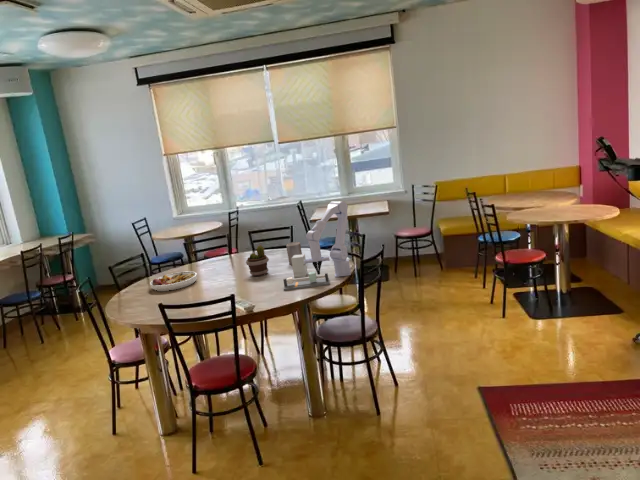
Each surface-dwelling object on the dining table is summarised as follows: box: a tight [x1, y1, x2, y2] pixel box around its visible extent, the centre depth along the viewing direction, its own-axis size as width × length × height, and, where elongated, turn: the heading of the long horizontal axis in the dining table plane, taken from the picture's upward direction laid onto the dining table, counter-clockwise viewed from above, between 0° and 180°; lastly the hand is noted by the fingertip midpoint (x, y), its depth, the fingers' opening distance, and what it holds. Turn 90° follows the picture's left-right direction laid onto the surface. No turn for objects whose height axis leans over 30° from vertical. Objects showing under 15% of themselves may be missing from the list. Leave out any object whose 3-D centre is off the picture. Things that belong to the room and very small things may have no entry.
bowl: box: [149, 270, 198, 292], centre depth 338 cm, size 30×30×8 cm
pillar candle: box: [285, 241, 303, 266], centre depth 349 cm, size 10×10×15 cm
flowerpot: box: [245, 243, 270, 277], centre depth 333 cm, size 14×15×20 cm
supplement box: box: [291, 253, 309, 279], centre depth 317 cm, size 7×7×13 cm
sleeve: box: [307, 270, 318, 282], centre depth 295 cm, size 4×4×5 cm
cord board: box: [283, 272, 330, 292], centre depth 296 cm, size 26×10×6 cm, turn 89°
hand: (318, 274), depth 295 cm, fingers closed
